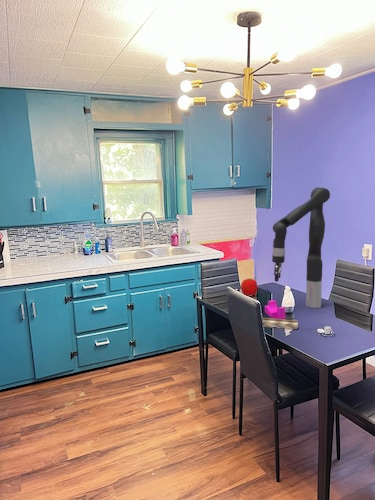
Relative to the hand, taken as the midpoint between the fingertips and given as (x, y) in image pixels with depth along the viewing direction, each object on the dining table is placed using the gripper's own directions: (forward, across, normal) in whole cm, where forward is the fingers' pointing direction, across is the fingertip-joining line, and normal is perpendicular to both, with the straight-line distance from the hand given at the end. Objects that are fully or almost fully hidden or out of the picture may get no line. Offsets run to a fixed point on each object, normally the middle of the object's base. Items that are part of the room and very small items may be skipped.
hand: (277, 279), depth 235 cm
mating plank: (+19, -30, -6) cm, 36 cm away
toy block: (+19, -14, -1) cm, 24 cm away
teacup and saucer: (+19, -30, -31) cm, 47 cm away
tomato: (+20, +21, +22) cm, 36 cm away
